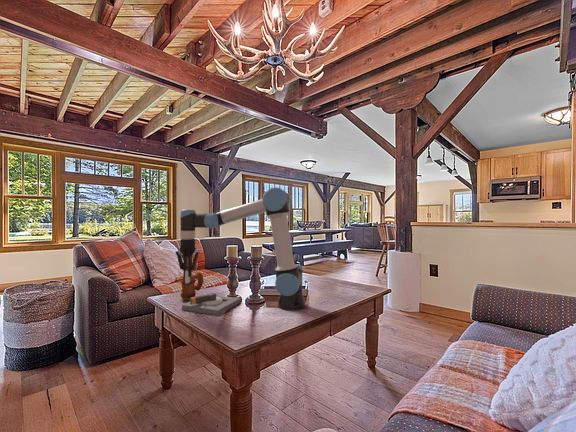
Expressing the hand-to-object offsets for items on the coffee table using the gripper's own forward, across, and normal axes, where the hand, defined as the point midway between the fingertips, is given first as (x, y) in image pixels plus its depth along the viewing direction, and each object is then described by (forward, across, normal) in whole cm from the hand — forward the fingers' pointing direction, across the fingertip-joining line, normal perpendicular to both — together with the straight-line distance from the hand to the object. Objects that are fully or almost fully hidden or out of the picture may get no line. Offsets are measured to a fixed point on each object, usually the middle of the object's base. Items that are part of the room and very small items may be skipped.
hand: (187, 282), depth 155 cm
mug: (+14, +4, -16) cm, 22 cm away
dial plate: (+14, -12, -4) cm, 19 cm away
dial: (+12, -10, -2) cm, 16 cm away
